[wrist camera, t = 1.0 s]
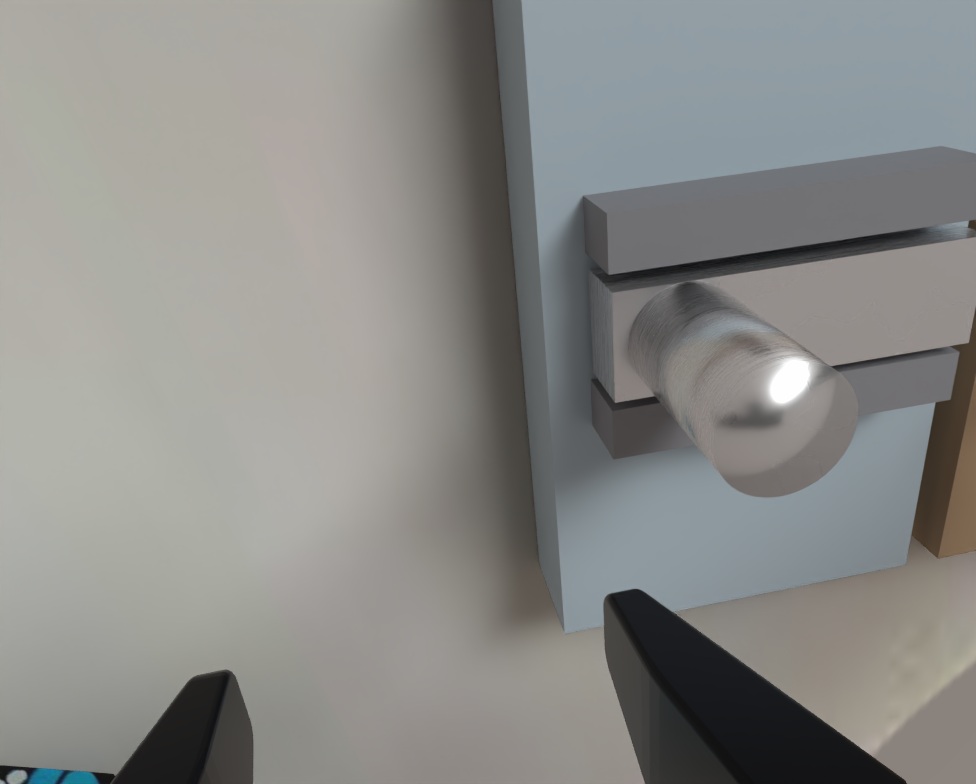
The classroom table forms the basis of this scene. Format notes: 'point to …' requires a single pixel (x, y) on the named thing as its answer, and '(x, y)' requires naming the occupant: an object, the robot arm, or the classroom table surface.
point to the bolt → (778, 342)
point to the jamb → (951, 464)
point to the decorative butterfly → (51, 776)
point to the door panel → (711, 235)
